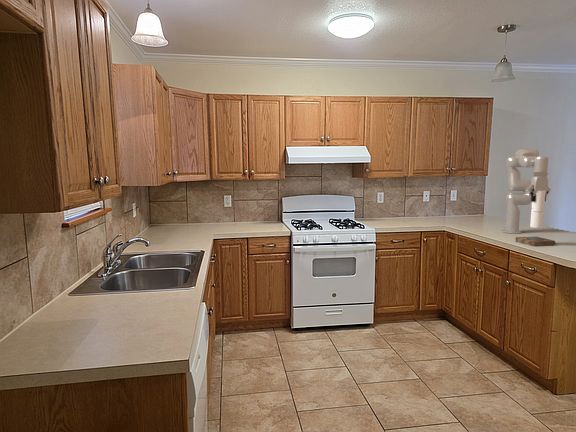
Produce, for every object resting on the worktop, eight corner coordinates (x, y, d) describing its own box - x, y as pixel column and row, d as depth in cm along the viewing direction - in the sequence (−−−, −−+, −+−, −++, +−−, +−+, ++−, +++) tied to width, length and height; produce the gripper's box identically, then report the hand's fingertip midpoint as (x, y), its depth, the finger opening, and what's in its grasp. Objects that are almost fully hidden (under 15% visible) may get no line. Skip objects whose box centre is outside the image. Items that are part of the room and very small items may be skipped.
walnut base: (515, 241, 261) (515, 236, 261) (535, 240, 264) (536, 235, 263) (533, 246, 246) (534, 241, 245) (554, 245, 248) (555, 240, 248)
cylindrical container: (537, 226, 256) (540, 190, 253) (545, 227, 249) (548, 190, 246) (527, 226, 256) (530, 190, 253) (534, 228, 249) (537, 190, 246)
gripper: (547, 174, 253) (545, 200, 256) (524, 175, 251) (522, 201, 253) (556, 175, 246) (554, 201, 248) (533, 175, 243) (531, 202, 246)
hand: (538, 201), depth 251 cm, fingers closed on cylindrical container, 7 cm apart
